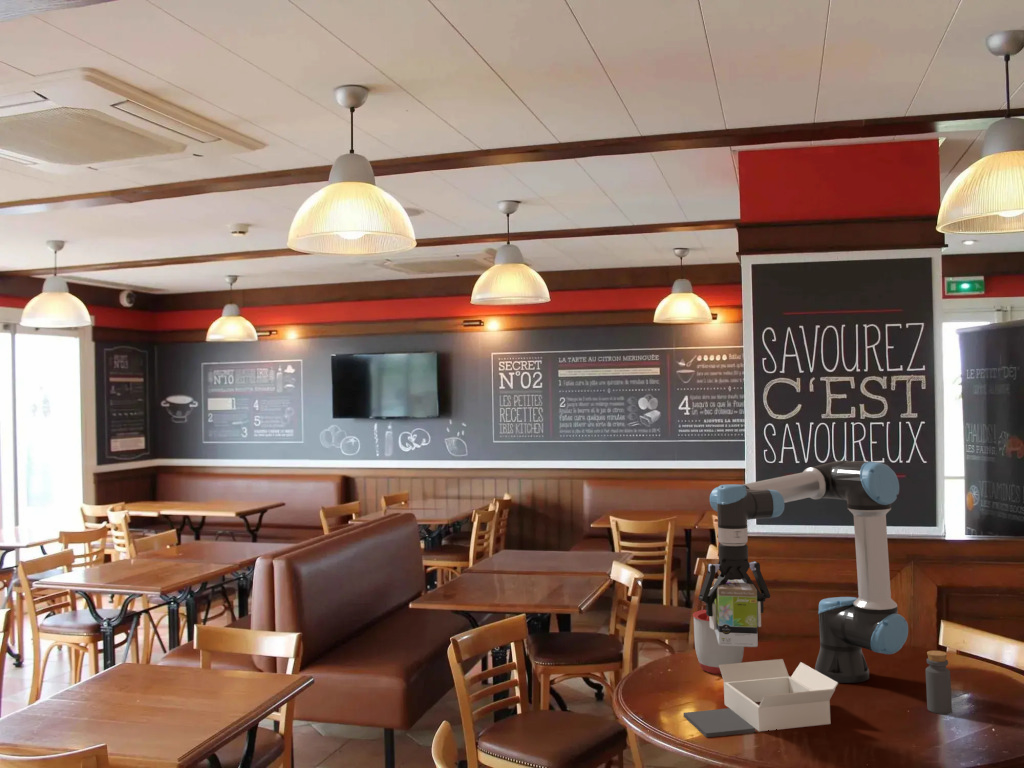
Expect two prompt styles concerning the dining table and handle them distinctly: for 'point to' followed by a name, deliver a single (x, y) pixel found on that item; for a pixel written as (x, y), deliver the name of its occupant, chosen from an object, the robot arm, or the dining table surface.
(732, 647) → the citrus juicer
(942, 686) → the bottle
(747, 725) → the mat
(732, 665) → the carton
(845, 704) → the dining table surface
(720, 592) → the tea box
